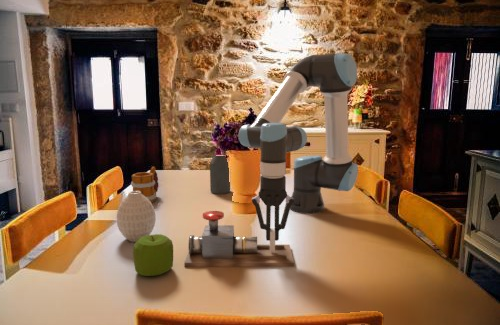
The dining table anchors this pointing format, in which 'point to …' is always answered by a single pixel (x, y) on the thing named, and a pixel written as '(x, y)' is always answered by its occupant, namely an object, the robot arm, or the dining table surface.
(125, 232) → the vase
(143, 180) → the mug
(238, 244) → the pipe
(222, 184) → the bottle
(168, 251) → the apple
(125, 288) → the dining table surface
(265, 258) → the board
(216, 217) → the gate valve
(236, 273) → the dining table surface
